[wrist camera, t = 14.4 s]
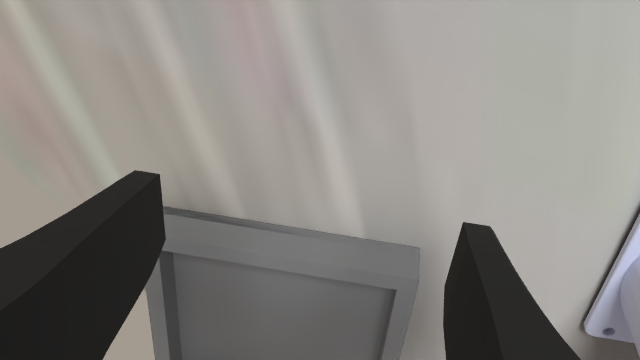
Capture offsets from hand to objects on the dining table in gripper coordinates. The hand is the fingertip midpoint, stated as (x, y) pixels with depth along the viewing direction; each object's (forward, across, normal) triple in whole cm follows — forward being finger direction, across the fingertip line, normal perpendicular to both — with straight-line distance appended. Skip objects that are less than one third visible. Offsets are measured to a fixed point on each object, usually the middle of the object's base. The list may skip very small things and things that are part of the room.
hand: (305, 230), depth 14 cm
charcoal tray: (+9, +2, +14) cm, 17 cm away
